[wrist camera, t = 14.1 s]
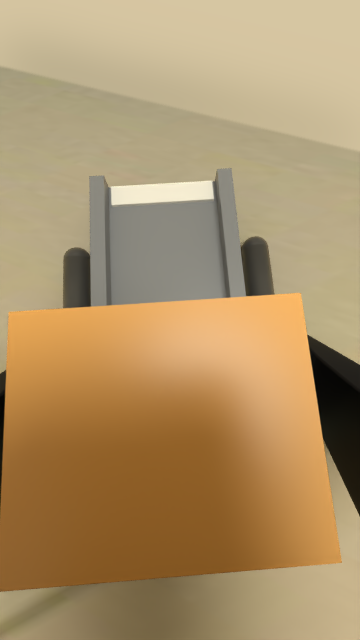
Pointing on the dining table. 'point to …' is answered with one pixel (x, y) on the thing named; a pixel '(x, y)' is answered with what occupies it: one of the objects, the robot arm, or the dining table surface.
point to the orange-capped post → (161, 443)
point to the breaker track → (164, 246)
